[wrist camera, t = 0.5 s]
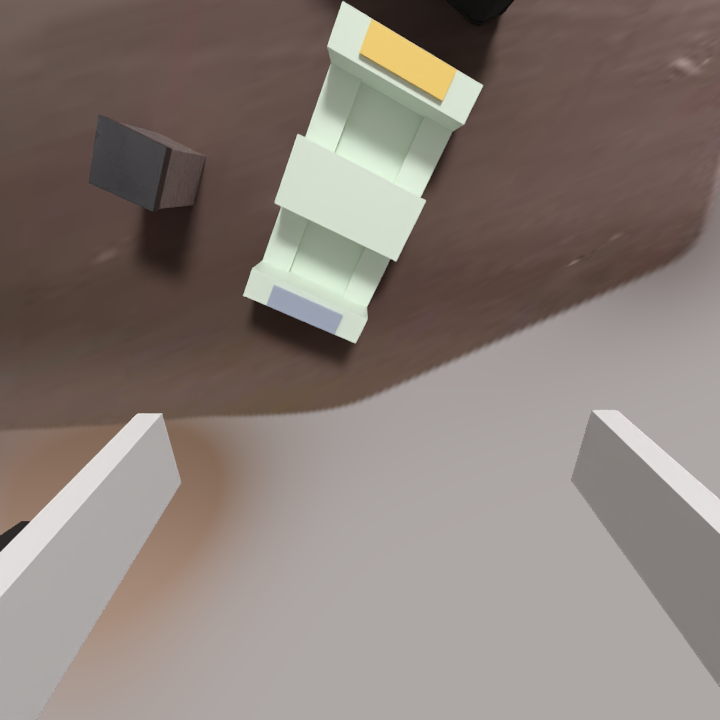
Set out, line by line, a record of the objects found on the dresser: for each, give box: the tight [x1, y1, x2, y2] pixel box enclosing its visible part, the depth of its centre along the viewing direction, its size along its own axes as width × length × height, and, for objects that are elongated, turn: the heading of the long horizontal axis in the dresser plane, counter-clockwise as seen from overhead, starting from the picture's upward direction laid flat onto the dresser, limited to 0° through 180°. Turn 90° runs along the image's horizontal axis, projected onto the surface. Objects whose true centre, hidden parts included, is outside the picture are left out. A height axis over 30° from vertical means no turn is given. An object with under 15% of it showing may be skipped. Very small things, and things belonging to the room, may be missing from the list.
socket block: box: [243, 1, 483, 344], centre depth 29 cm, size 10×20×5 cm, turn 155°
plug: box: [89, 115, 206, 212], centre depth 27 cm, size 4×4×7 cm
